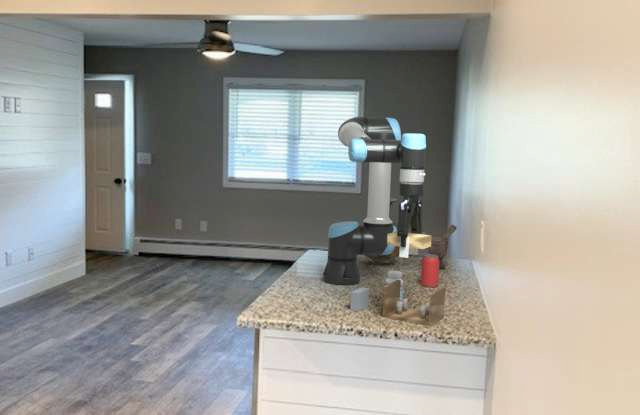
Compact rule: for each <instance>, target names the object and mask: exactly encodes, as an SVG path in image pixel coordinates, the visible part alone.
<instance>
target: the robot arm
mask: <svg viewBox="0 0 640 415" xmlns="http://www.w3.org/2000/svg"><path fill="white" fill-rule="evenodd" d="M337 136H338V140H339V141H340V143H341V145H343V146H345V147H347V148H348V149H347V150H348V151H347V153H348V159H349V161H350V162H352V163H354V162H355V163H358V164H359V163H360V164H361V163H369V168H368V189H367V190H368V191H367V194H368V195H367V214H366V215H367V216H366V217H365V219H363V222H362V225H359V223H358V221H354V220H353V221H339V222H334V223H332V224H331V225H330V226H329V228H328V235H327V239H328V240H327V241H328V242H327V262H326V265H325V267H324V270H323V273H322V281H323V282H324V283H327V284H332V285H342V286H343V285H345V286H346V285H347V286H349V285H356V284H359V283H360V282H361V281H362V279H361V276H362V275H361V273H360V268H359V265H358V256H359V255H361V256H365V255H380V256H381V255H389V254H391V253H392V252H393V250H394V248H395V246H391V245H387V234H390V233H394V232H397V236H400V253H399V256H398V257H399V258H405V259H408V258H409V255H418V254H419V252H418V251H419V249H417V248H409V237H408V233H413V234H422V233H423V232H422V231H423V230H422V229H423V228H422V227H423V225H422V223H423V221H422V220H423V216H422V215H423V213H422V212H423V211H422V210H423V201H422V200H419V197H423V196H424V194H425V192H424V190H425V188H424V186H425V185H424V184H423V183H424V182H425V177H426V172H425V167H426V165H425V164H426V148H427V143H426V140H427V139H426V138H427V137H426V135H425V134H423V133H403V134H402V131H401V127H400V124H399V122H398V120H397V119H396V118H393V117H384V116H383V117H382V116H381V117H380V116H379V117H378V116H377V117H376V116H372V117H371V116H355V117H352V118H351V117H350V118H349V119H346V120H345V121H344V122H342V124H341V125H340V126H339V128H338V131H337ZM392 164H400V169H399V183H400V184H399V187H398V188H399V192H398V194H399V196H403V200H402V202H398V218H397V225H398V228H397V229H396V227H395V226H393V222H394V221H393V220H392V219H390V218H391V217H390V218H389V206H390V198H391V179H392V176H391V175H392ZM390 207H391V206H390ZM391 220H392V221H393V222H392V221H391ZM409 231H410V232H409Z"/></svg>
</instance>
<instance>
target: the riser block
mask: <svg viewBox="0 0 640 415" xmlns="http://www.w3.org/2000/svg"><path fill="white" fill-rule="evenodd" d="M369 306H370V288H369V287H363V286H360V287H359V288H356V289H354V290H352V291H350V309H349V310H351V311H355V312H359V311H362V310H363V309H366V308H367V307H369Z"/></svg>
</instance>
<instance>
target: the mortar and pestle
mask: <svg viewBox="0 0 640 415" xmlns="http://www.w3.org/2000/svg"><path fill="white" fill-rule="evenodd" d="M457 228H458V227H457V226H456V225H454V224H451V225H450V226H449V228H448V229H447V230H446V232H445V234H444V235H443V236H442V237H440V236H439V237H437V236H436V237H435V236H432V237H431V247H428V254H433V255H437V256H438V258H439V269H445V268H446V266H445V263H444V262H443V259H444V258H446V255H447V254H448V253H447V252H448V246H449V238H450V236H451V235H453V233H455V231H456V230H457Z"/></svg>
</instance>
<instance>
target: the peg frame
mask: <svg viewBox="0 0 640 415" xmlns="http://www.w3.org/2000/svg"><path fill="white" fill-rule="evenodd" d="M385 285H386V284H385ZM385 285H384V286H383V302H382V304H383V306H382V307H383V308H382V318H386V319H392V320H397V321H401V322H402V321H403V322H408V323H412V324H419V325H424V326H427V327H429V326H430V327H433V326H435V325H436V324H437V323H438V322H439V321H441V320H442V319H444V318H445V317H444V316H445V302H446V301H445V300H446V286H439V287H438V288H437V289H435V290H434V291H432V292H430V294H429V301H425V303H424V304H420V310H419V309H415V308H414V309H413V308H409V307H408V302H409V301H408V298H407V297H403V298H402V301H400V286H401V280H396V281H394V282H392V283H390V284H388V285H386V286H385Z"/></svg>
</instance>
